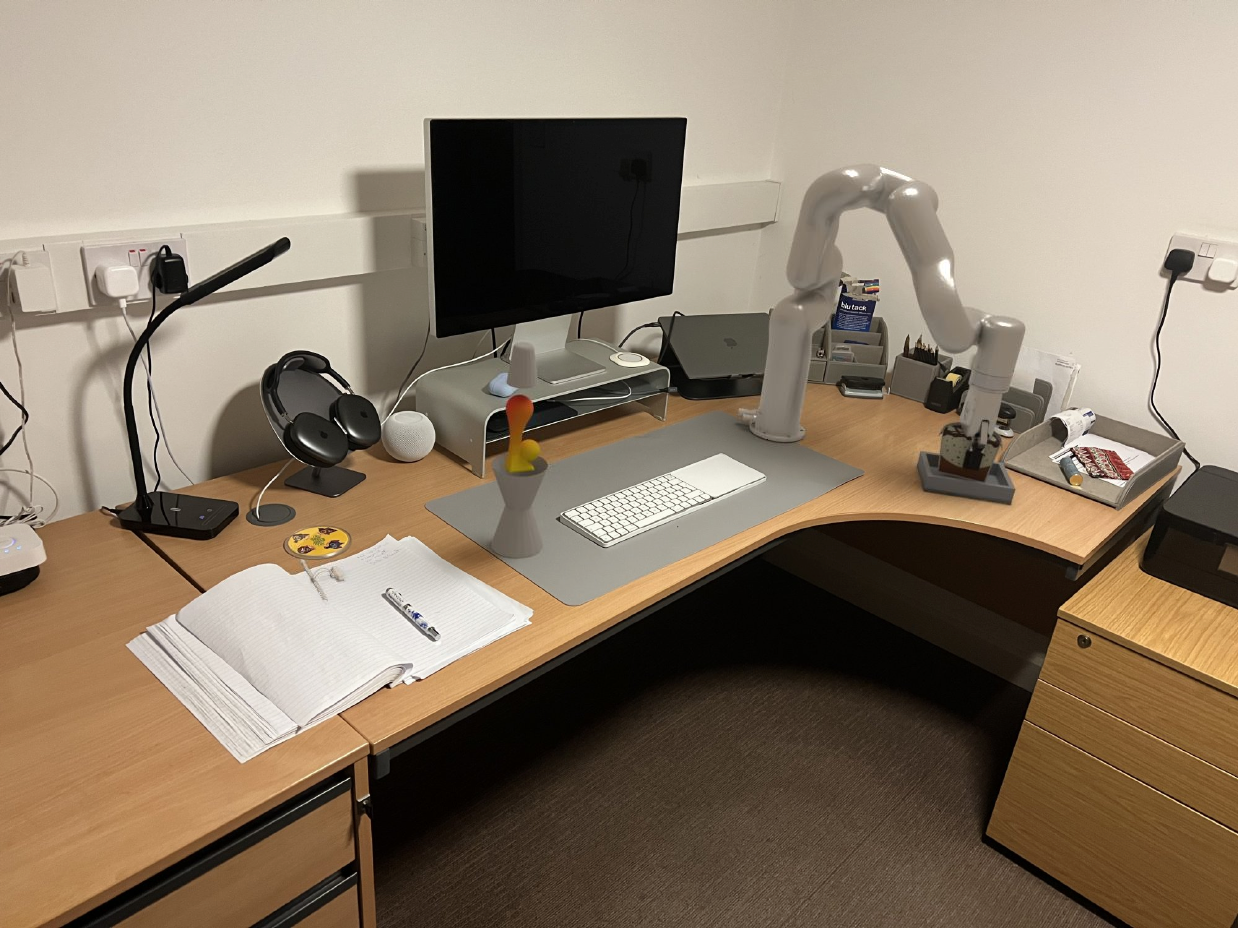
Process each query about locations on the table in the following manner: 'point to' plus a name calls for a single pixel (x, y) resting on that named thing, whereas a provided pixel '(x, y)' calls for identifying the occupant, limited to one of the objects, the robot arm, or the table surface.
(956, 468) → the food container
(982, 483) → the desk holder
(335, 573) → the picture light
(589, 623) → the table surface
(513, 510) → the lava lamp
